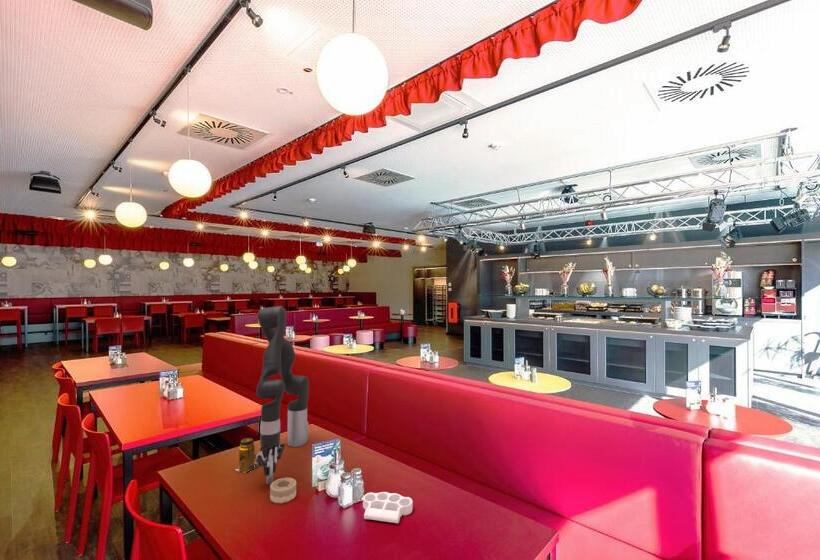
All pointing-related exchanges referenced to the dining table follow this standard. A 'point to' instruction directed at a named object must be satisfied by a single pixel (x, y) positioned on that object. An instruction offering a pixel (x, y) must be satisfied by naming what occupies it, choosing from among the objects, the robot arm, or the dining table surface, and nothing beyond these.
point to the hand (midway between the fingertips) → (269, 473)
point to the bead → (283, 490)
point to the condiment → (246, 455)
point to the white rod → (270, 477)
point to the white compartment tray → (386, 506)
